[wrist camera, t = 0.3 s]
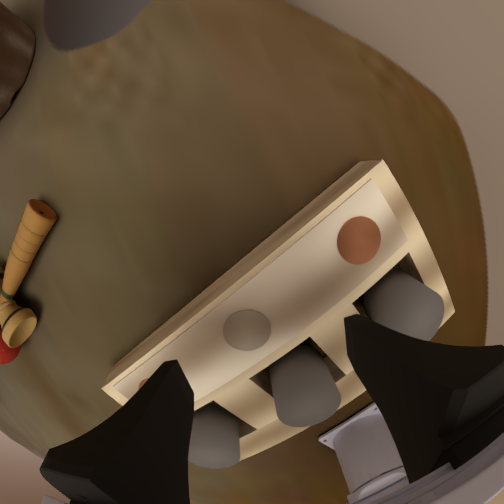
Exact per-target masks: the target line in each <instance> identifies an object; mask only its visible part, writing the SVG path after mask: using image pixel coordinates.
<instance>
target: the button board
mask: <svg viewBox="0 0 504 504" xmlns="http://www.w3.org/2000/svg"><path fill="white" fill-rule="evenodd" d="M397 263H398V265H399V266H400V268H401V270H402V271H404V272H405V273H407V274H408V275H410V276H412V277H413V278H415V279H416V280H418V281H420V282H421V283H423V284H424V285H426V286H427V287H429V288H430V289H432V290H434V291H435V292H437V293H438V294H439V295H440V296H441V297H442V299H443V302H444V316H443V320H442V323H441V325H440V327H441V326H442V325H443V324H444V323H445V322H446V321H447V320H448V319H449V318H450V316H451V315H452V314H453V313H454V312H455V310H454V307H453V304H452V301H451V298H450V295H449V292H448V289H447V287H446V284H445V281H444V279H443V276H442V274H441V271H440V269H439V266H438V264H437V261H436V259H435V257H434V254H433V252H432V250H431V248H430V245H429V243H428V241H427V239H426V237H425V235H424V232H423V230H422V228H421V226H420V224H419V222H418V220H417V218H416V216H415V214H414V212H413V210H412V209H411V207H410V205H409V203H408V201H407V199H406V197H405V196H404V194H403V192H402V190H401V189H400V187H399V185H398V183H397V182H396V180H395V178H394V177H393V175H392V173H391V172H390V170H389V168H388V167H387V165H386V164H385V162H384V160H372V161H360V162H358V163H357V164H356V165H355V166H354V167H352V168H351V169H350V170H349V171H348V172H346V173H345V174H344V175H343V176H341V177H340V178H339V179H338V180H337V181H335V182H334V183H333V184H332V185H331V186H329V187H328V188H327V189H326V190H325V191H323V192H322V193H321V194H320V195H318V196H317V197H316V198H315V199H314V200H312V201H311V202H310V203H309V204H308V205H306V206H305V207H304V208H303V209H302V210H300V211H299V212H298V213H297V214H296V215H294V216H293V217H292V218H291V219H289V220H288V221H287V222H286V223H285V224H283V225H282V226H281V227H280V228H279V229H277V230H276V231H275V232H274V233H273V234H271V235H270V236H269V237H268V238H267V239H265V240H264V241H263V242H262V243H260V244H259V245H258V246H257V247H256V248H254V249H253V250H252V251H251V252H250V253H248V254H247V255H246V256H245V257H244V258H242V259H241V260H240V261H239V262H238V263H236V264H235V265H234V266H233V267H232V268H230V269H229V270H228V271H227V272H225V273H224V274H223V275H222V276H221V277H219V278H218V279H217V280H216V281H215V282H213V283H212V284H211V285H210V286H209V287H207V288H206V289H205V290H204V291H203V292H201V293H200V294H199V295H198V296H197V297H195V298H194V299H193V300H192V301H191V302H189V303H188V304H187V305H186V306H185V307H183V308H182V309H181V310H180V311H179V312H177V313H176V314H175V315H174V316H172V317H171V318H170V319H169V320H168V321H166V322H165V323H164V324H163V325H162V326H160V327H159V328H158V329H157V330H156V331H154V332H153V333H152V334H151V335H150V336H148V337H147V338H146V339H145V340H144V341H142V342H141V343H140V344H139V345H138V346H136V347H135V348H134V349H133V350H132V351H130V352H129V353H128V354H127V355H126V356H124V357H123V358H122V359H121V360H120V361H118V362H117V363H116V364H115V365H114V366H113V368H112V370H111V372H110V373H109V375H108V377H107V379H106V381H105V383H104V385H103V387H102V390H103V391H105V392H106V393H107V394H108V395H110V396H111V397H112V398H113V399H115V400H116V401H117V402H118V403H120V404H121V405H122V406H123V405H124V404H125V403H126V402H127V401H128V400H129V399H130V398H131V397H132V396H133V395H134V394H135V393H136V392H137V391H138V390H139V389H140V388H141V387H142V386H143V385H144V383H145V382H146V381H147V380H148V379H149V378H150V377H151V375H152V374H153V373H154V372H155V371H156V370H157V369H158V368H159V366H160V365H161V364H162V363H163V362H164V361H170V360H176V359H177V360H178V362H179V364H180V366H181V368H182V370H183V372H184V374H185V376H186V378H187V380H188V382H189V384H190V386H191V388H192V390H193V391H194V411H195V410H197V409H199V408H201V407H202V406H204V405H206V404H208V403H209V402H211V401H213V400H214V401H215V402H216V403H218V404H219V405H221V406H222V407H224V408H225V409H227V410H228V411H229V412H231V413H232V414H234V415H235V416H237V417H238V421H239V441H240V460H243V459H245V458H248V457H250V456H252V455H255V454H257V453H259V452H261V451H263V450H266V449H268V448H270V447H272V446H274V445H276V444H278V443H280V442H282V441H284V440H286V439H288V438H290V437H292V436H294V435H296V434H297V433H299V432H301V431H303V430H305V429H306V428H308V427H310V426H308V427H292V426H288V425H285V424H284V423H282V422H281V421H280V420H279V419H278V416H277V412H276V407H275V402H274V397H273V392H272V387H271V381H270V376H269V371H268V370H267V369H266V367H267V366H269V365H270V364H272V363H273V362H275V361H276V360H278V359H279V358H280V357H282V356H283V355H285V354H286V353H288V352H289V351H290V350H292V349H293V348H295V347H296V346H297V345H299V344H300V343H302V342H303V341H304V340H306V339H307V338H308V337H311V338H312V339H313V340H314V341H315V342H316V344H317V345H318V346H319V347H320V348H321V349H322V350H323V351H324V352H325V353H326V354H327V356H326V357H324V358H323V359H324V361H325V363H326V365H327V367H328V369H329V371H330V373H331V375H332V377H333V379H334V382H335V384H336V386H337V388H338V390H339V392H340V394H341V403H340V406H339V408H338V409H340V408H341V407H343V406H344V405H346V404H347V403H349V402H350V401H352V400H353V399H355V398H356V397H357V396H359V395H360V394H362V393H363V392H364V391H366V388H365V387H364V385H363V384H362V382H361V381H360V379H359V378H358V376H357V374H356V373H355V371H354V369H353V367H352V365H351V362H350V360H349V358H348V356H347V348H346V337H345V327H344V318H345V317H348V316H351V315H354V314H359V312H358V311H357V310H356V308H355V307H354V306H353V304H352V303H353V302H354V301H355V300H356V299H358V298H359V297H360V296H361V295H362V294H363V293H365V292H366V291H367V290H368V289H369V288H370V287H372V286H373V285H374V284H375V283H376V282H377V281H378V280H379V279H381V278H382V277H383V276H384V275H385V274H386V273H387V272H388V271H389V270H390V269H391V268H393V267H394V266H395V265H396V264H397ZM359 315H360V314H359ZM440 327H439V328H440ZM338 409H337V410H338ZM240 460H239V461H240Z"/></svg>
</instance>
